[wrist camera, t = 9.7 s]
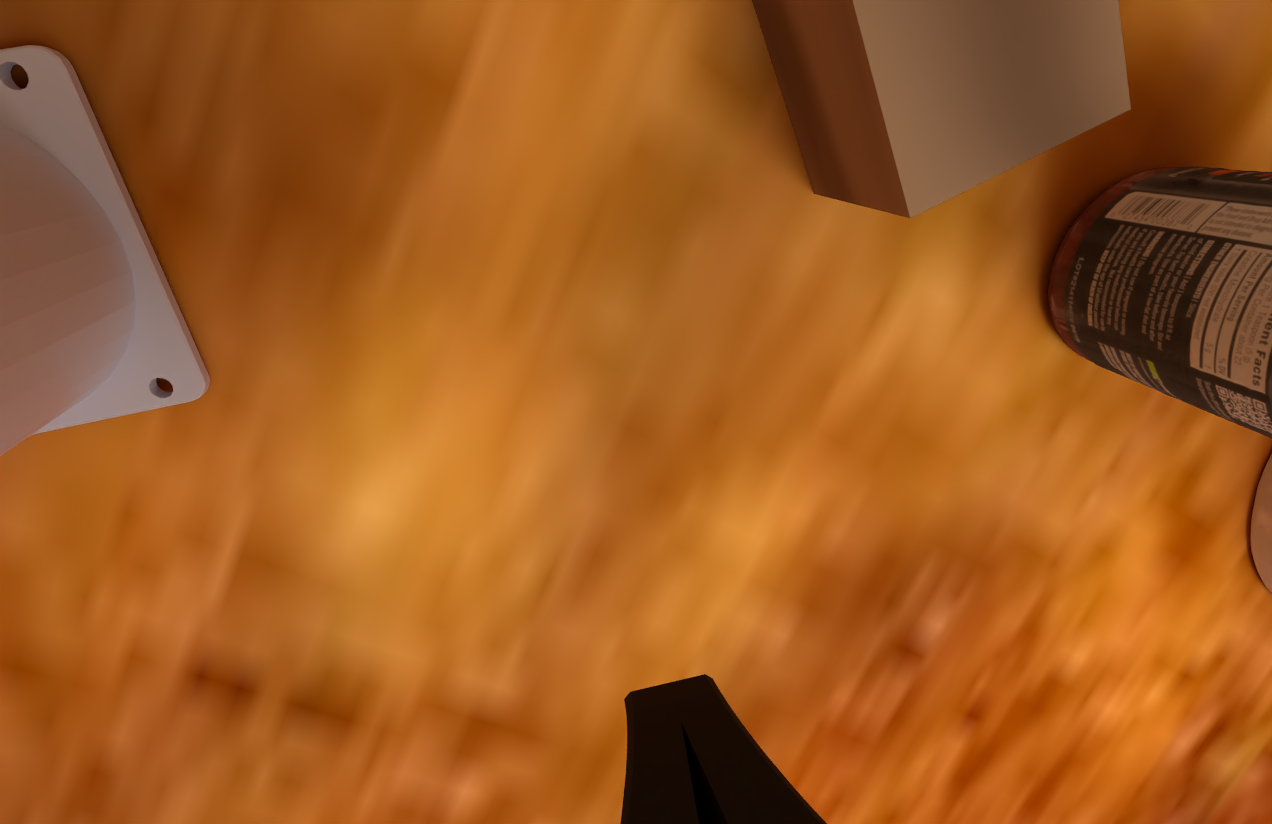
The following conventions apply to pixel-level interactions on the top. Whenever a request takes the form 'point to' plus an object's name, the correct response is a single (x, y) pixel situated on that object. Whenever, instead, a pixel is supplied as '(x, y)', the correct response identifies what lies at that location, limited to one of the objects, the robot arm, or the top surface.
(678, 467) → the top surface
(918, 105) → the walnut block
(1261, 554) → the utensil holder
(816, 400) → the top surface
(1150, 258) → the supplement bottle
